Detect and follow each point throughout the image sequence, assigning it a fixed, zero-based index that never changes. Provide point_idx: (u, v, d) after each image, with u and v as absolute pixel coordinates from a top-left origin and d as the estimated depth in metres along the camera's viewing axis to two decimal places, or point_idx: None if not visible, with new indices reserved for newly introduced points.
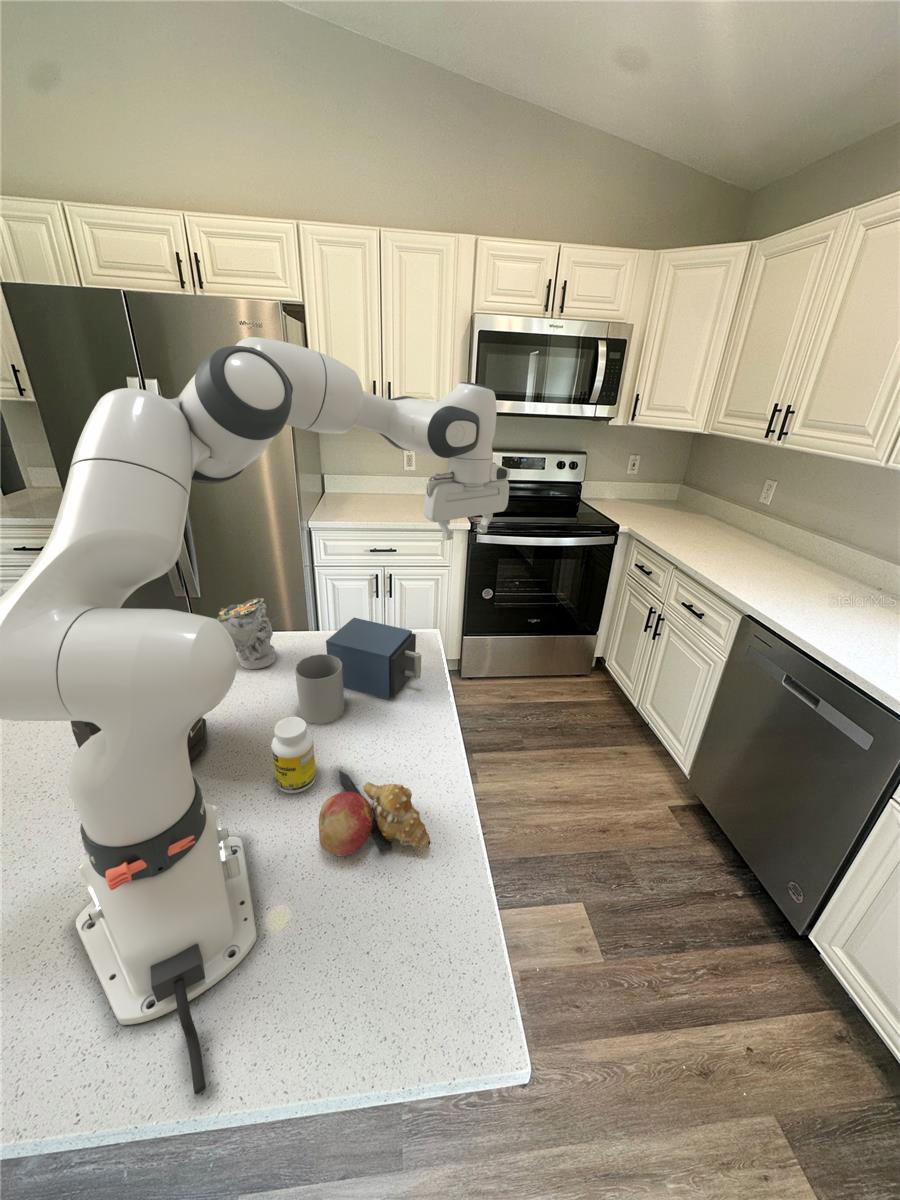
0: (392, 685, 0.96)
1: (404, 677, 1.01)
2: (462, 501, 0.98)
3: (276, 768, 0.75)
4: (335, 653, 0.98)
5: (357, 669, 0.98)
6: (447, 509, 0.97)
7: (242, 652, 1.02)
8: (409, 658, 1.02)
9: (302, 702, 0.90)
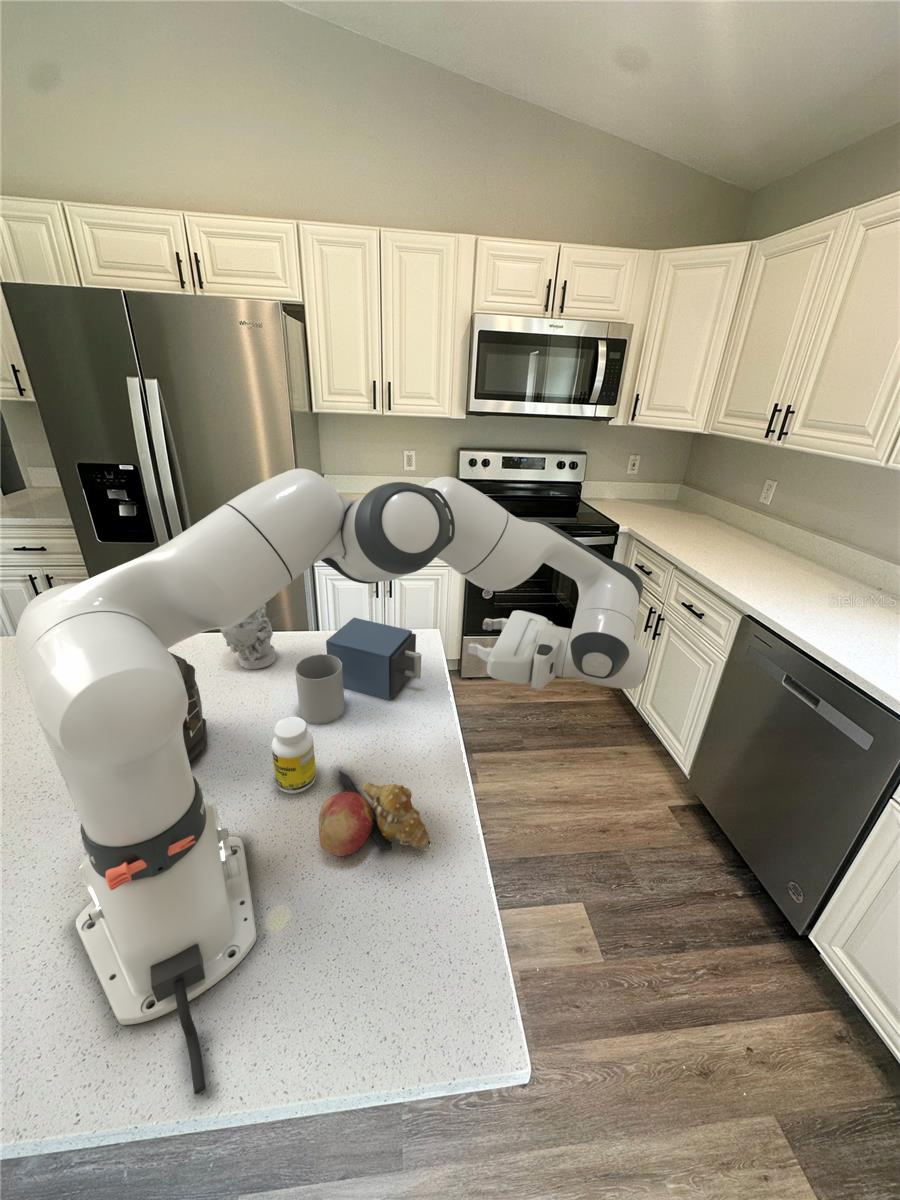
0: (392, 685, 0.96)
1: (404, 677, 1.01)
2: (523, 628, 0.91)
3: (276, 768, 0.75)
4: (335, 653, 0.98)
5: (357, 669, 0.98)
6: (521, 618, 0.94)
7: (242, 652, 1.02)
8: (409, 658, 1.02)
9: (302, 702, 0.90)
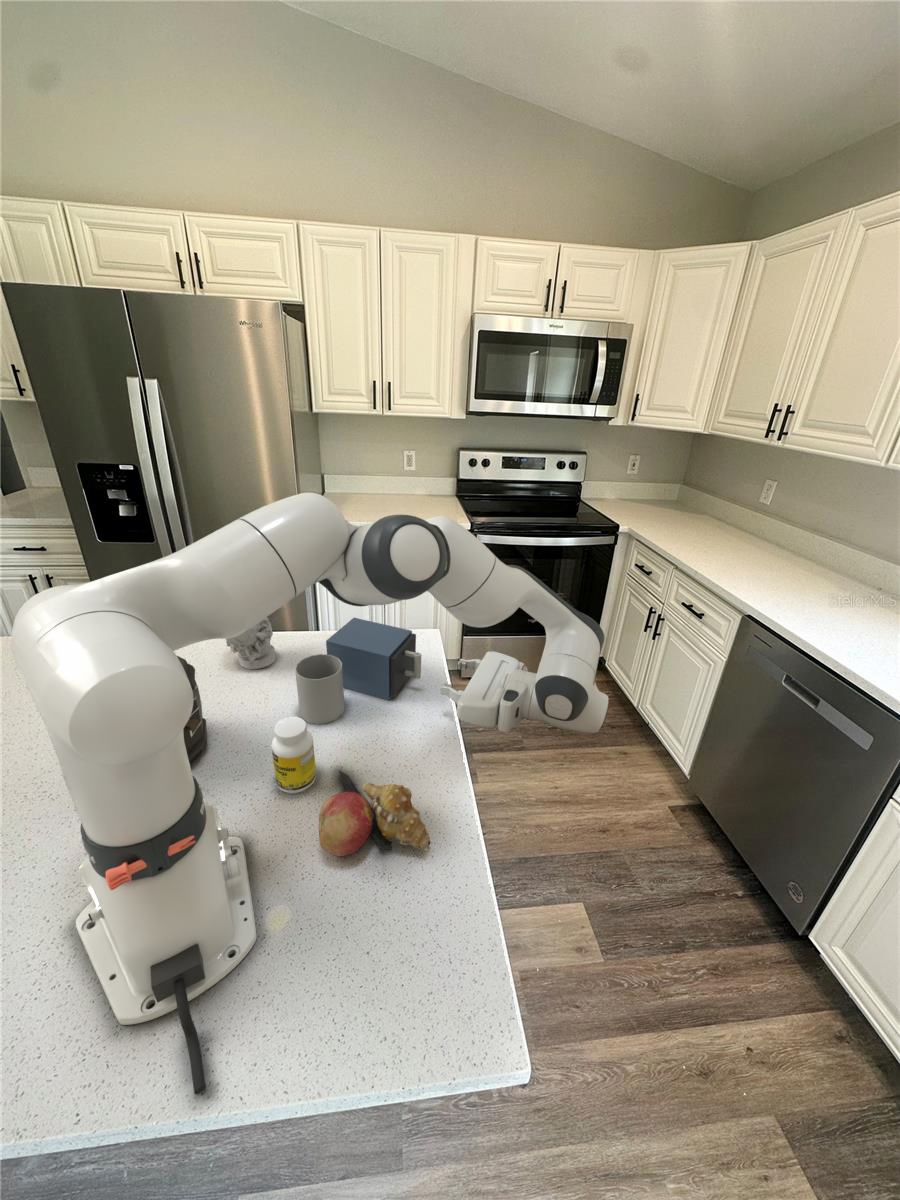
0: (392, 685, 0.96)
1: (404, 677, 1.01)
2: (494, 670, 0.96)
3: (276, 768, 0.75)
4: (335, 653, 0.98)
5: (357, 669, 0.98)
6: (493, 659, 1.00)
7: (242, 652, 1.02)
8: (409, 658, 1.02)
9: (302, 702, 0.90)
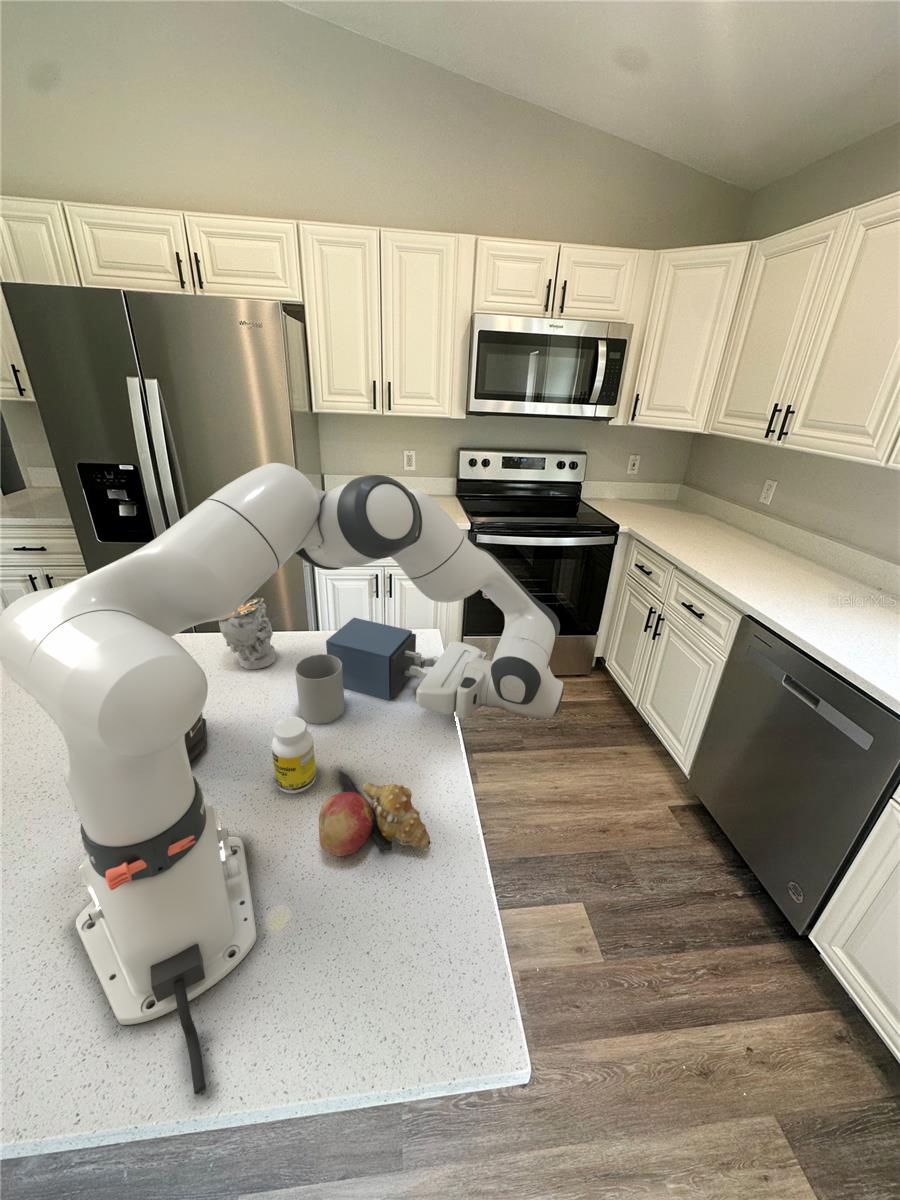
0: (392, 685, 0.96)
1: (404, 677, 1.01)
2: (456, 659, 0.99)
3: (276, 768, 0.75)
4: (335, 653, 0.98)
5: (357, 669, 0.98)
6: (456, 649, 1.02)
7: (242, 652, 1.02)
8: (409, 658, 1.02)
9: (302, 702, 0.90)
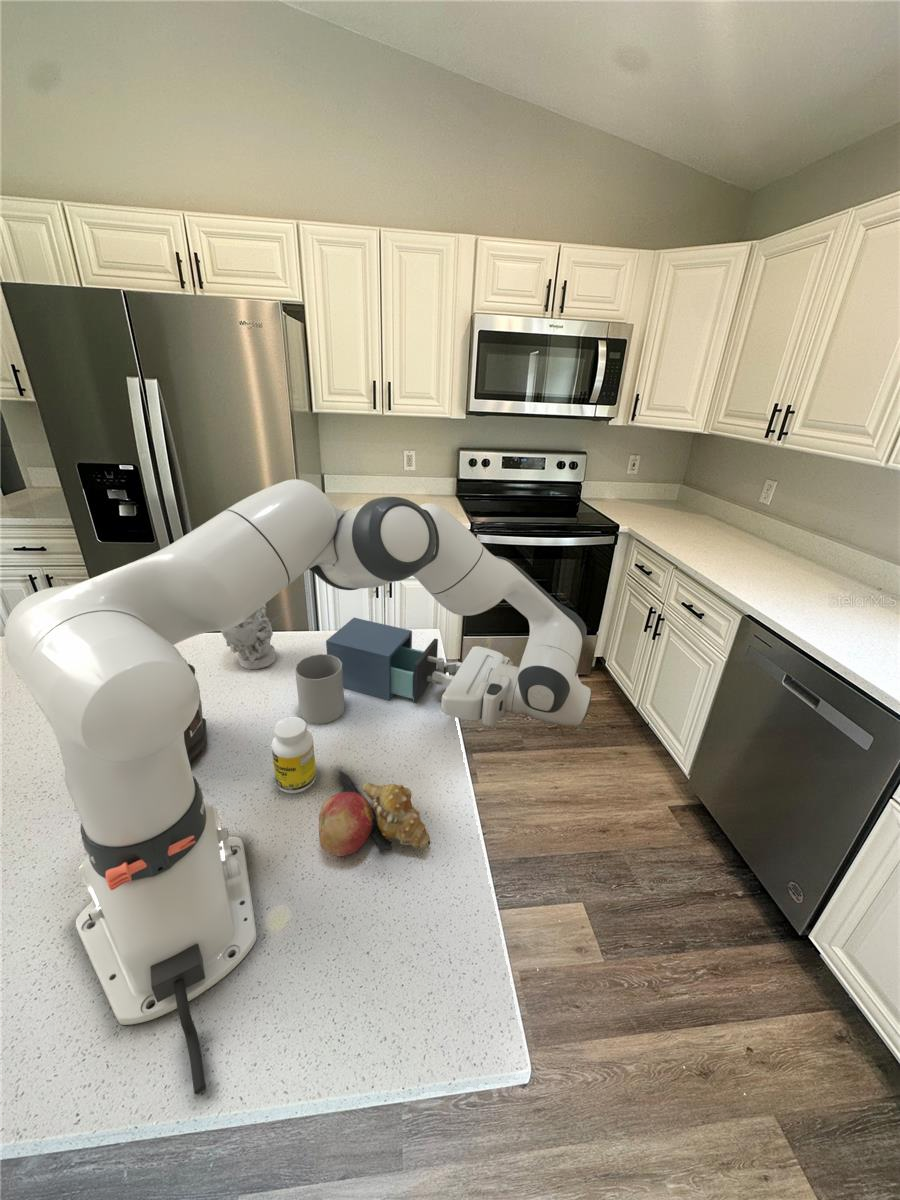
0: (415, 691, 0.95)
1: (426, 683, 1.00)
2: (479, 665, 0.97)
3: (276, 768, 0.75)
4: (335, 653, 0.98)
5: (357, 669, 0.98)
6: (479, 654, 1.01)
7: (242, 652, 1.02)
8: (431, 663, 1.00)
9: (302, 702, 0.90)
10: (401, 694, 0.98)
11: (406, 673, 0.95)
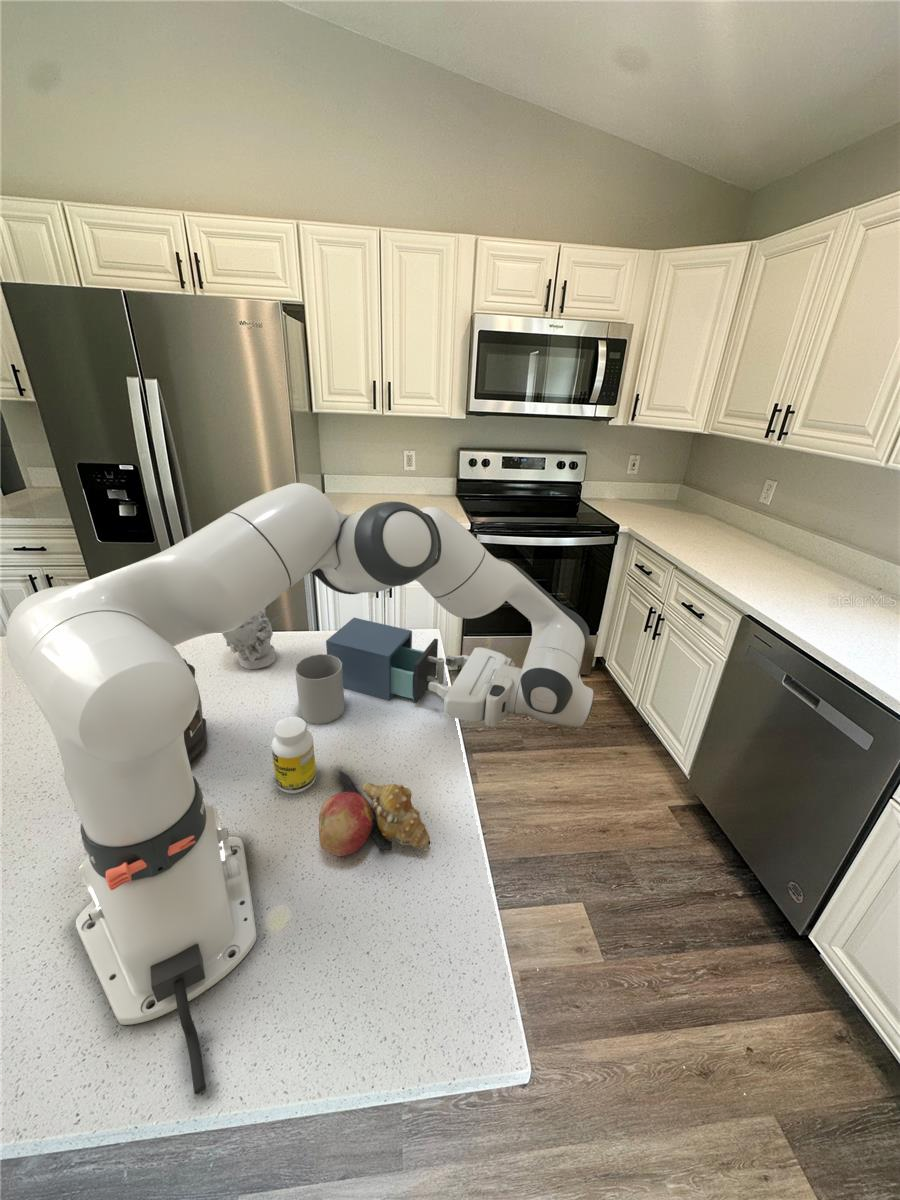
0: (415, 691, 0.95)
1: (426, 683, 1.00)
2: (482, 666, 0.97)
3: (276, 768, 0.75)
4: (335, 653, 0.98)
5: (357, 669, 0.98)
6: (481, 655, 1.01)
7: (242, 652, 1.02)
8: (431, 663, 1.00)
9: (302, 702, 0.90)
10: (401, 694, 0.98)
11: (406, 673, 0.95)
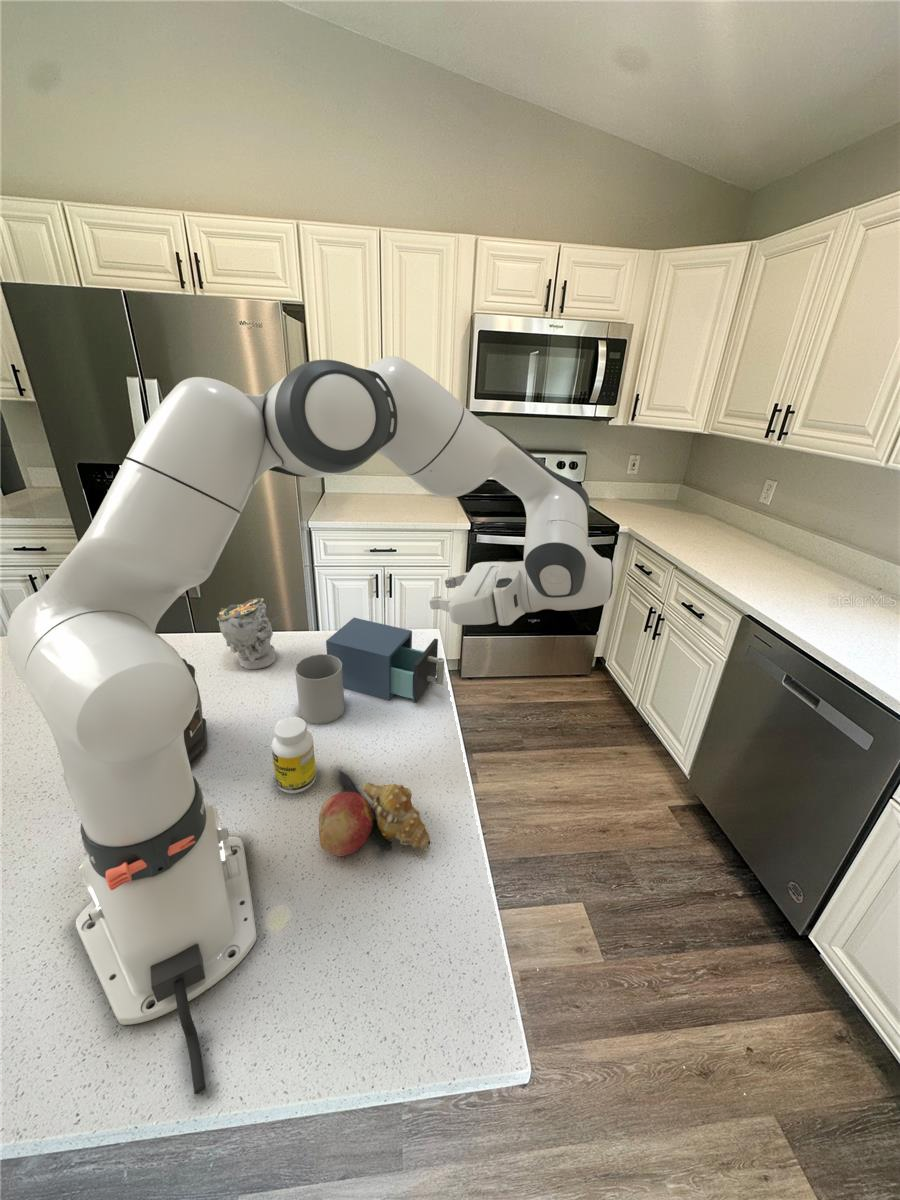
0: (415, 691, 0.95)
1: (426, 683, 1.00)
2: (484, 574, 0.87)
3: (276, 768, 0.75)
4: (335, 653, 0.98)
5: (357, 669, 0.98)
6: (482, 567, 0.91)
7: (242, 652, 1.02)
8: (431, 663, 1.00)
9: (302, 702, 0.90)
10: (401, 694, 0.98)
11: (406, 673, 0.95)
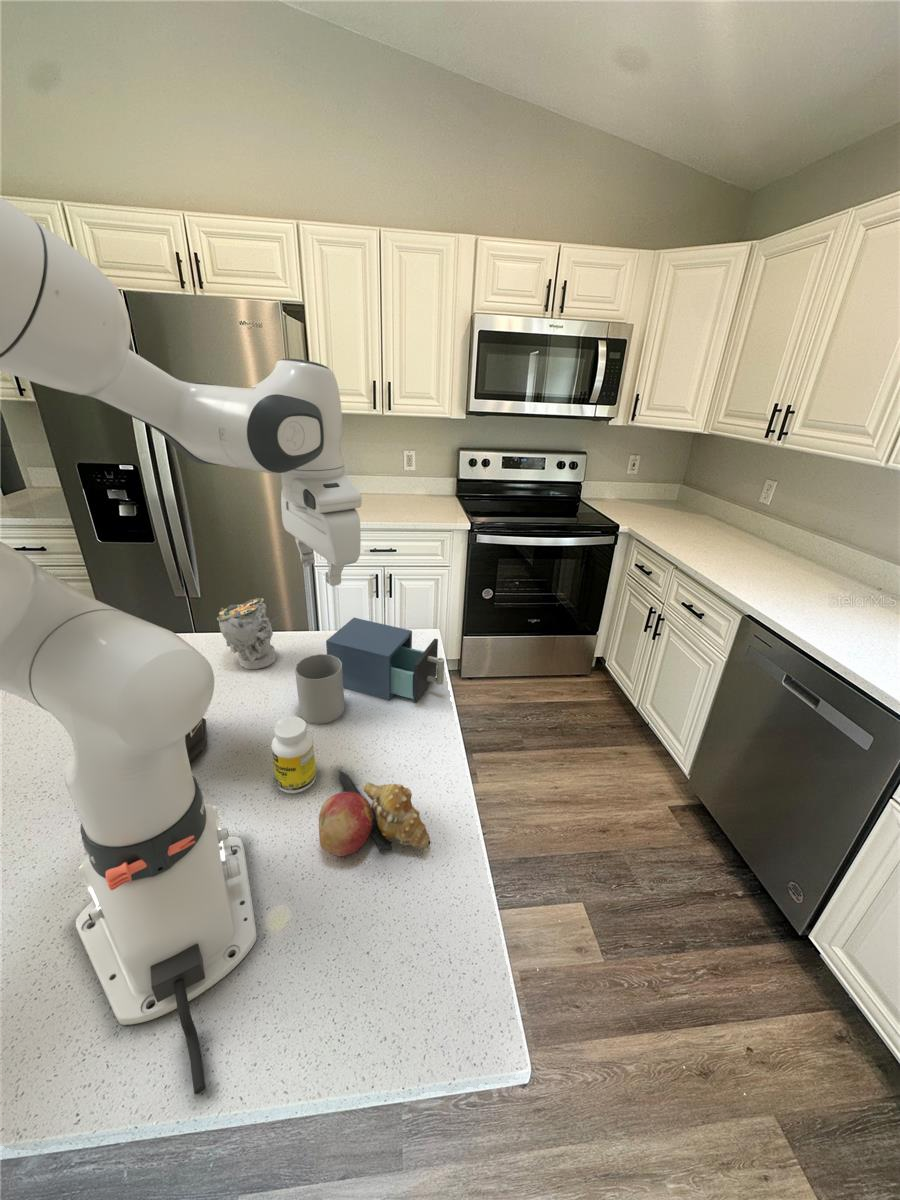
0: (415, 691, 0.95)
1: (426, 683, 1.00)
2: (298, 519, 0.74)
3: (276, 768, 0.75)
4: (335, 653, 0.98)
5: (357, 669, 0.98)
6: (288, 521, 0.77)
7: (242, 652, 1.02)
8: (431, 663, 1.00)
9: (302, 702, 0.90)
10: (401, 694, 0.98)
11: (406, 673, 0.95)
